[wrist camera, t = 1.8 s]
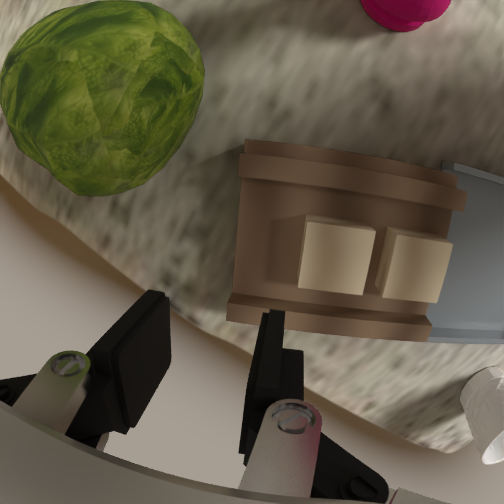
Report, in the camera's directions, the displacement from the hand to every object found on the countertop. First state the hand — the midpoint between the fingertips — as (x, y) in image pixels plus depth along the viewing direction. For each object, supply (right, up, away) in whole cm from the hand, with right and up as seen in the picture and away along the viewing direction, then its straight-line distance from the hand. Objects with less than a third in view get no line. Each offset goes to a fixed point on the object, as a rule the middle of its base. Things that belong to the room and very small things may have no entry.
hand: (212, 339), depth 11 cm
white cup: (+30, -14, +19) cm, 38 cm away
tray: (+24, +2, +14) cm, 28 cm away
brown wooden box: (+9, +4, +16) cm, 18 cm away
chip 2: (+13, +2, +11) cm, 18 cm away
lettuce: (-13, +19, +14) cm, 27 cm away
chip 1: (+7, +3, +12) cm, 14 cm away
